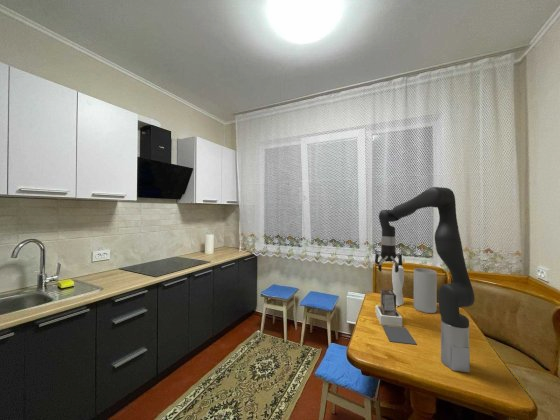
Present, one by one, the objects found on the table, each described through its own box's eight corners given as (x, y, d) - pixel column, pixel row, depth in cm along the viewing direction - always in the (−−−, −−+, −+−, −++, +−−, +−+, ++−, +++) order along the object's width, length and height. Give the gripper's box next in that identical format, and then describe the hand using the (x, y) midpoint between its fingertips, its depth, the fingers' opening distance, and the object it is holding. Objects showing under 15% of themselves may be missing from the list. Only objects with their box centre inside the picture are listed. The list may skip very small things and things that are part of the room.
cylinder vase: (433, 306, 149) (433, 269, 149) (439, 315, 137) (439, 274, 137) (411, 304, 153) (411, 267, 153) (415, 311, 142) (416, 272, 142)
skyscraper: (394, 300, 159) (395, 261, 159) (406, 304, 152) (406, 263, 152) (387, 303, 154) (388, 262, 154) (399, 307, 148) (399, 265, 148)
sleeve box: (402, 326, 123) (402, 317, 123) (380, 324, 125) (380, 315, 125) (394, 315, 137) (394, 307, 137) (375, 313, 139) (375, 305, 139)
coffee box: (396, 324, 126) (396, 295, 126) (384, 323, 127) (384, 294, 127) (391, 316, 135) (391, 289, 135) (380, 315, 136) (380, 289, 136)
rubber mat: (417, 344, 107) (417, 344, 107) (389, 341, 109) (389, 340, 109) (406, 328, 121) (406, 327, 121) (382, 326, 124) (382, 325, 124)
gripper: (376, 244, 129) (376, 272, 129) (403, 245, 126) (403, 274, 126) (374, 242, 136) (373, 269, 136) (399, 243, 133) (399, 270, 133)
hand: (388, 271), depth 131 cm, fingers open, 8 cm apart
